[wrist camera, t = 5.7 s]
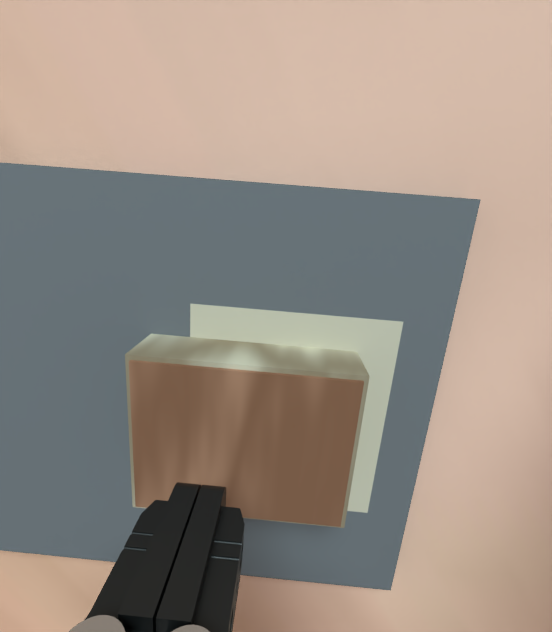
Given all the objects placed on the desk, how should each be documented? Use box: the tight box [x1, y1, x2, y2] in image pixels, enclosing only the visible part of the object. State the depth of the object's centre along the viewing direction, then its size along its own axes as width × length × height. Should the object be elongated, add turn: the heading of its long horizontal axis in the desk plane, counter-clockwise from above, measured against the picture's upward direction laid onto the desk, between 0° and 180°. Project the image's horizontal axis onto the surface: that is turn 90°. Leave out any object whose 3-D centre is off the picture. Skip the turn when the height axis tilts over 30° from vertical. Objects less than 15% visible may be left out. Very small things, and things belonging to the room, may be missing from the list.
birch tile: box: [125, 334, 370, 528], centre depth 14 cm, size 2×7×9 cm
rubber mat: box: [0, 163, 480, 590], centre depth 16 cm, size 24×20×1 cm
